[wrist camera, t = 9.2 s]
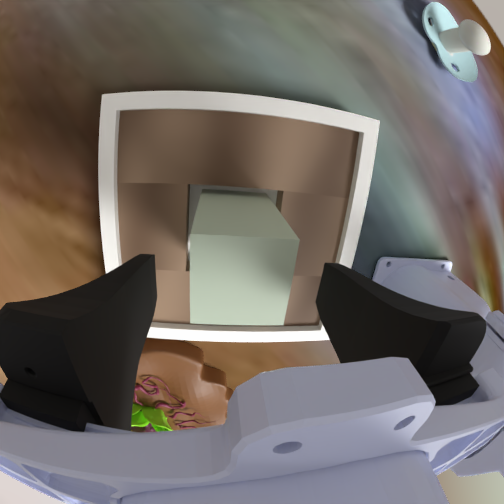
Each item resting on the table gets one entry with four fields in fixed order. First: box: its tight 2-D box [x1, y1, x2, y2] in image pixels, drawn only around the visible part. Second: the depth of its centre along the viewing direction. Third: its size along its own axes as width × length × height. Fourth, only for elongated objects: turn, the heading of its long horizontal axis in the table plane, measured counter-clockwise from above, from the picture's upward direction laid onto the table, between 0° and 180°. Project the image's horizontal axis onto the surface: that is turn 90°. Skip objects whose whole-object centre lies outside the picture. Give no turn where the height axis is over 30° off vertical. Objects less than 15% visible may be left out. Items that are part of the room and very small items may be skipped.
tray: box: [98, 91, 380, 342], centre depth 18 cm, size 16×16×3 cm
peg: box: [190, 189, 300, 325], centre depth 15 cm, size 4×4×8 cm
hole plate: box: [117, 109, 359, 326], centre depth 18 cm, size 14×14×2 cm
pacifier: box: [422, 2, 491, 82], centre depth 12 cm, size 7×6×6 cm
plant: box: [131, 337, 233, 433], centre depth 21 cm, size 20×20×11 cm
